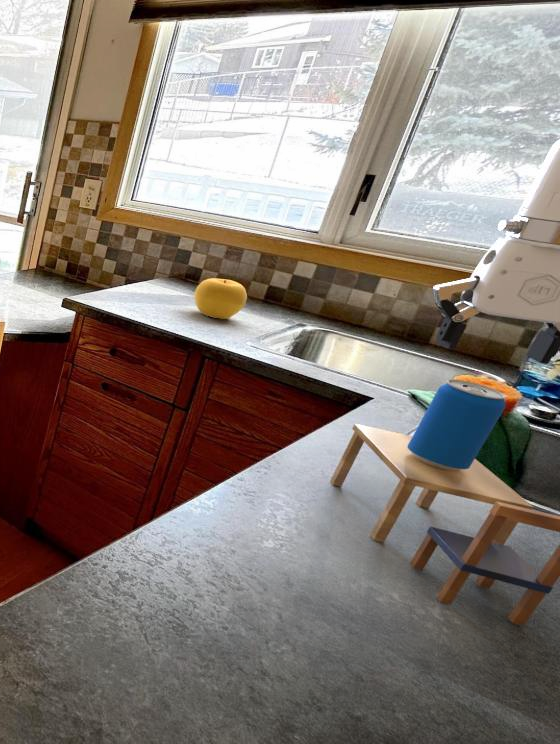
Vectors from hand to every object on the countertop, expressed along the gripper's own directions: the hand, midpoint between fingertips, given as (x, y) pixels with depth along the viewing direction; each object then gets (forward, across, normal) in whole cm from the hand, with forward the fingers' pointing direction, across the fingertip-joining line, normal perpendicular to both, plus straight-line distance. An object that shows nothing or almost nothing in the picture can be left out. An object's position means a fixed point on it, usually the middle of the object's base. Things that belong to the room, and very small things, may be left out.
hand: (489, 352), depth 86 cm
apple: (+28, -5, +103) cm, 106 cm away
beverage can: (+16, -2, -4) cm, 17 cm away
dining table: (+27, -2, -4) cm, 28 cm away
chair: (+27, -2, -20) cm, 34 cm away
